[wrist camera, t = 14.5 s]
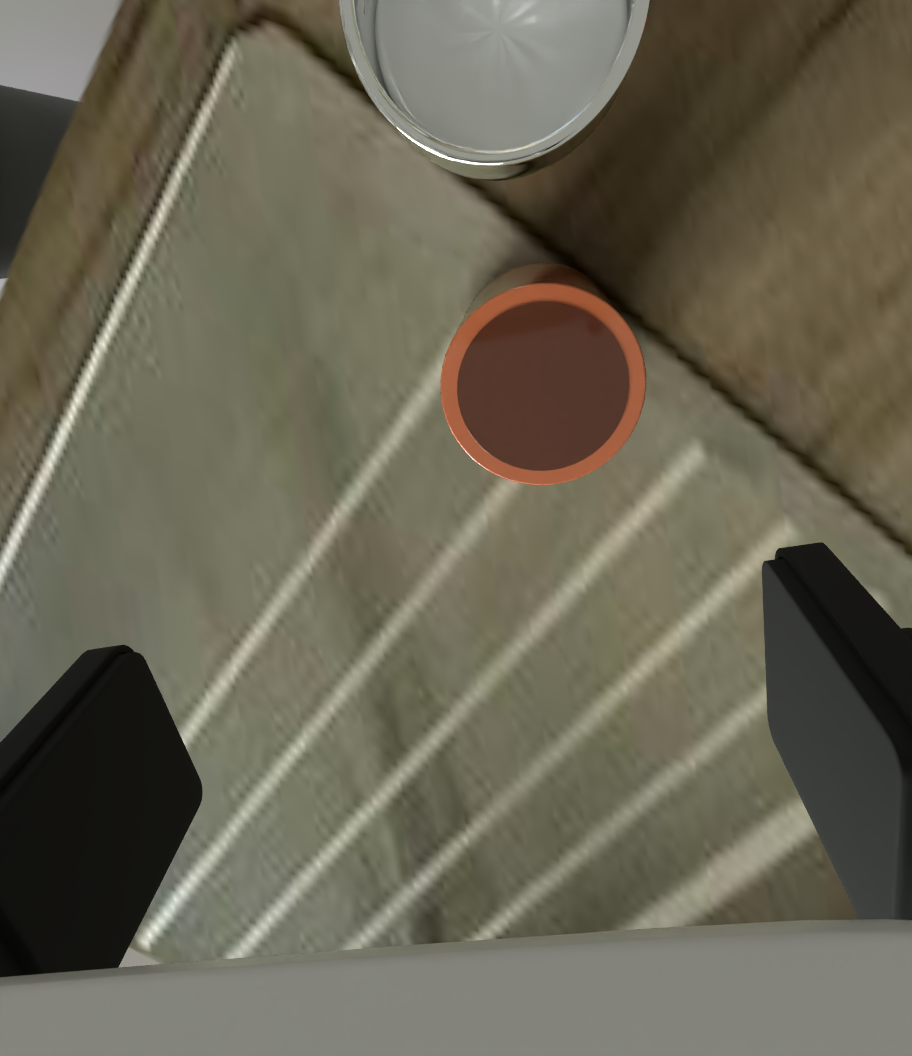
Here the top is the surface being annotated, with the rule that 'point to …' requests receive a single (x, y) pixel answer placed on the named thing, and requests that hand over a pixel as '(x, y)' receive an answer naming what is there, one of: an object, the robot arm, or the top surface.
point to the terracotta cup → (542, 376)
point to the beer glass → (493, 75)
